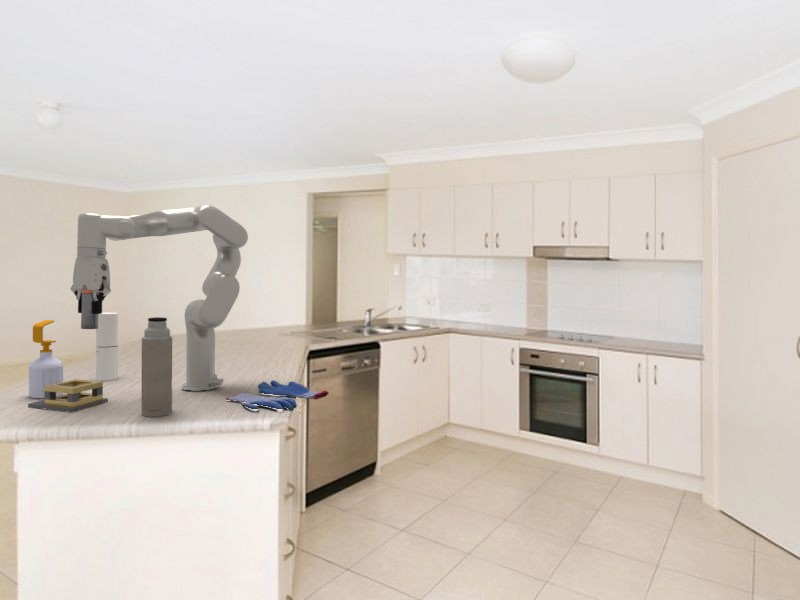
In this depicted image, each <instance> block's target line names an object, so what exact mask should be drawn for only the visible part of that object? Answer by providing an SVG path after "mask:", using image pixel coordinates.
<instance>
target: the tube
mask: <svg viewBox="0 0 800 600" xmlns="http://www.w3.org/2000/svg"><path fill="white" fill-rule="evenodd" d="M97 294H98V295H99V293H97ZM92 301H94V298H93V292H92V291H90V290H88V289H87V287H86V285H85V284H84V285H83V288H82V308H81V313H80V314H81V315H80V316H81V318H80V320H81V321H80V329H82V330H96V329H98V314H92Z"/></svg>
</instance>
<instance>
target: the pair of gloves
mask: <svg viewBox="0 0 800 600" xmlns="http://www.w3.org/2000/svg"><path fill="white" fill-rule="evenodd" d="M257 388H258V392H259V394H261V393H264V394H273V395H286V396H280V397H269V396H264V395H253V394H250V393H248V392H245V393H243V392H241V393H239V392H238V393H236V394H234V395H228V396H226V398H225V401H226V400H236V401H242V402H246V403H242V402H241V405H242V404H243V405H244V406H246V407H248V408H251V409H259V410H260V408H259V406H255V405H253V404H257V405H263V406H268V407H271V408H276V409H284V408H283V407H286V408H288V409H289V410H290V411H294V409H296V408H297V407H298V404H297V402H296V400H295V399H294V398H299V399H306V400H307V399H309V400H315V401H316V400H319V399H323V398H326V397H327V396H329V393H330V392H329V391H328V390H323V391H314V390H310V389H309V388H307V387H306V386H305V385H303V384H300V383H298V382H295V381H289V382H288V383H287V384H283V383H282V384H281V383H280V382H278V381H276V380H271V381H270V384H269V383H267V382H266V381H262V382H261V383H259V384H258V385H257ZM290 396H291V398H290ZM262 397H264V398H262ZM292 397H293V398H292ZM243 405H242V406H243ZM244 406H243V407H244ZM289 410H288V411H289Z"/></svg>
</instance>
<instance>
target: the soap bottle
mask: <svg viewBox="0 0 800 600" xmlns="http://www.w3.org/2000/svg"><path fill="white" fill-rule="evenodd" d="M53 323H55V320H54V319H45V320H41V321H39V322H37V323H34V324H33V326H32V342H34V343H37V344H40V346H42V349H40V350H39V357H38V358H36V359H35V360H33V361H32V362H31V363H30V364H29V366H28V395H29V397H30V398H32V399H37V398H39V399H45V398H44V386H46V385H51V384H56V383H60V382H64V363H63V362H62V361H61V360H60V359H58V358H56V357H54V356H53V349H50V346H52V344H53V343H57V340H52V339H47V340H46V339H45V340H44V338H43V337H44V327H45V326H48V325H50V324H53ZM60 395H64V393H59V392H56V396H60Z"/></svg>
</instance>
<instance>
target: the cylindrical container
mask: <svg viewBox="0 0 800 600" xmlns="http://www.w3.org/2000/svg"><path fill="white" fill-rule="evenodd" d="M117 378H118V379H119V313H118V312H102V314H98V329H95V381H98V380H99V381H100V382H103V381H105V382H107V381H108V380H109V381H115V380H117ZM114 379H115V380H114ZM109 381H108V382H109Z"/></svg>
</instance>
